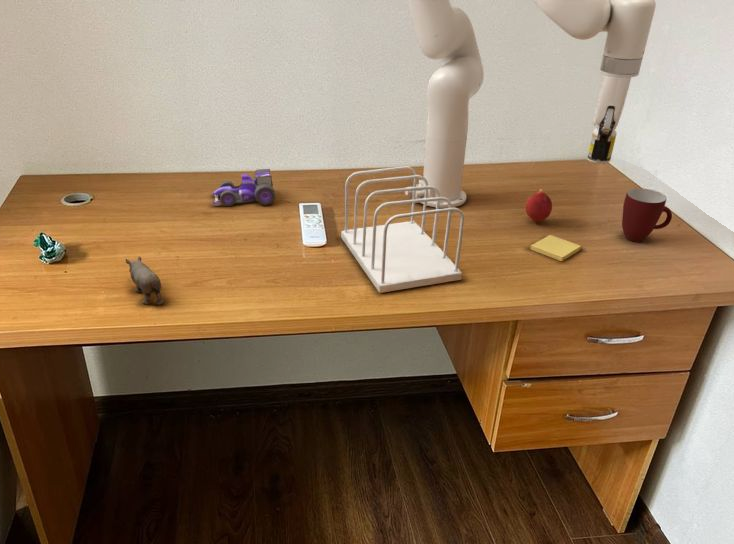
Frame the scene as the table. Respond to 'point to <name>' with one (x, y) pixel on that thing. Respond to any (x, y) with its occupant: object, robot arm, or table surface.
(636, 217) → the mug
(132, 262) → the rhino figurine
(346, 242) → the file sorter
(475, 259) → the table surface
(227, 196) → the toy race car
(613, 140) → the supplement bottle
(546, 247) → the sticky note pad
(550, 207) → the onion
